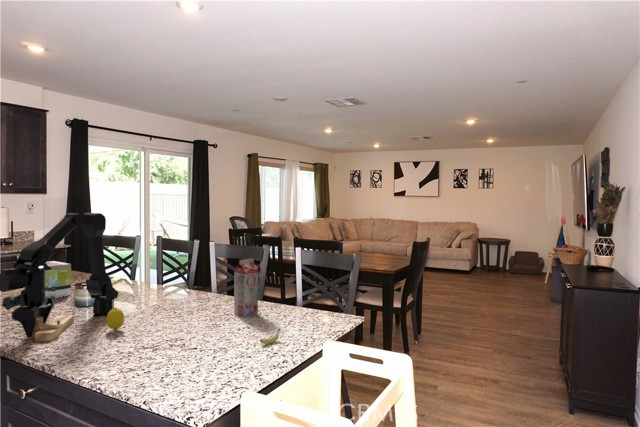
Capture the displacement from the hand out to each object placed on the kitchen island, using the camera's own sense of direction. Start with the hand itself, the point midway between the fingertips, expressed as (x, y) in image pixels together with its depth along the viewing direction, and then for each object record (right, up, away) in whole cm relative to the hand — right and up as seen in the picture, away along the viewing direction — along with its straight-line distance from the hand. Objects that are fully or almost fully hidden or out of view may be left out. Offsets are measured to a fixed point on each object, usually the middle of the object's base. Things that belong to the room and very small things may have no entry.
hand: (35, 332), depth 140 cm
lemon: (+23, -2, +7) cm, 24 cm away
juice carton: (+64, -1, +30) cm, 70 cm away
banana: (+77, -3, -2) cm, 77 cm away
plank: (+3, -1, +6) cm, 7 cm away
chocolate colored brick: (+3, -1, +1) cm, 3 cm away
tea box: (-29, +1, +55) cm, 62 cm away
